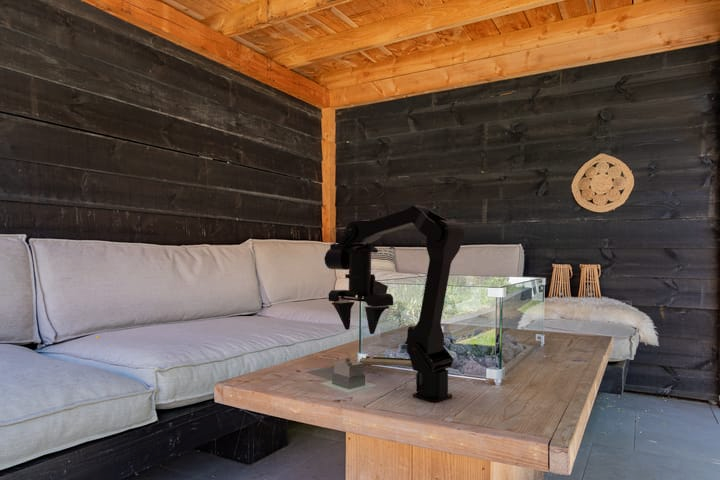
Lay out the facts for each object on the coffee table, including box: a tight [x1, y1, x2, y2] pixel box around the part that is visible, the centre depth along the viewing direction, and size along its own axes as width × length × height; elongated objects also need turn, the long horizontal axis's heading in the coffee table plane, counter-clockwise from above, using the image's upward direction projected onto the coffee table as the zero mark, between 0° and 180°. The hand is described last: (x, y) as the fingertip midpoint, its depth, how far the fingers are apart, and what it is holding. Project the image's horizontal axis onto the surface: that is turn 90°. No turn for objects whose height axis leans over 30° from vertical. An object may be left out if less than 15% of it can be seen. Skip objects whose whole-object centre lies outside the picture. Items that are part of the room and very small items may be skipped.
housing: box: [331, 357, 366, 389], centre depth 111 cm, size 5×6×6 cm
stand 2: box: [319, 380, 378, 394], centre depth 111 cm, size 10×9×2 cm
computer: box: [359, 356, 413, 369], centre depth 134 cm, size 16×8×3 cm, turn 82°
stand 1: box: [306, 366, 334, 381], centre depth 121 cm, size 10×9×2 cm
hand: (359, 331), depth 122 cm, fingers open, 9 cm apart
